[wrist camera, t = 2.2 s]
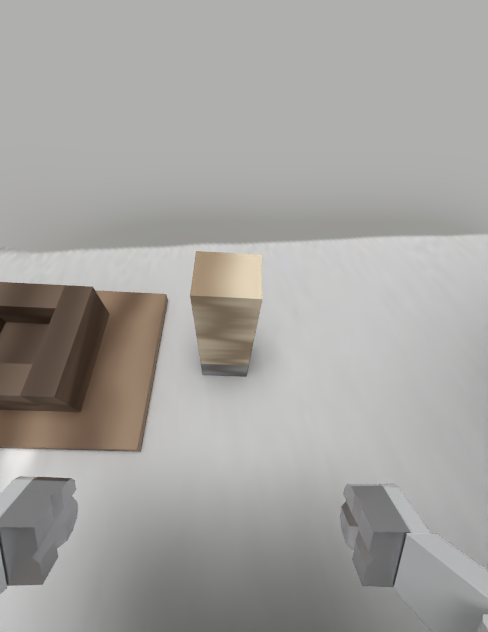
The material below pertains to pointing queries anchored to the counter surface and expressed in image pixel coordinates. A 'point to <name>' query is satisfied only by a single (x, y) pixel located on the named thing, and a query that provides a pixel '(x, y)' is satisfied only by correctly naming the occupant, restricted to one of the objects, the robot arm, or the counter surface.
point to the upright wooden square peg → (226, 309)
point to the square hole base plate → (76, 366)
